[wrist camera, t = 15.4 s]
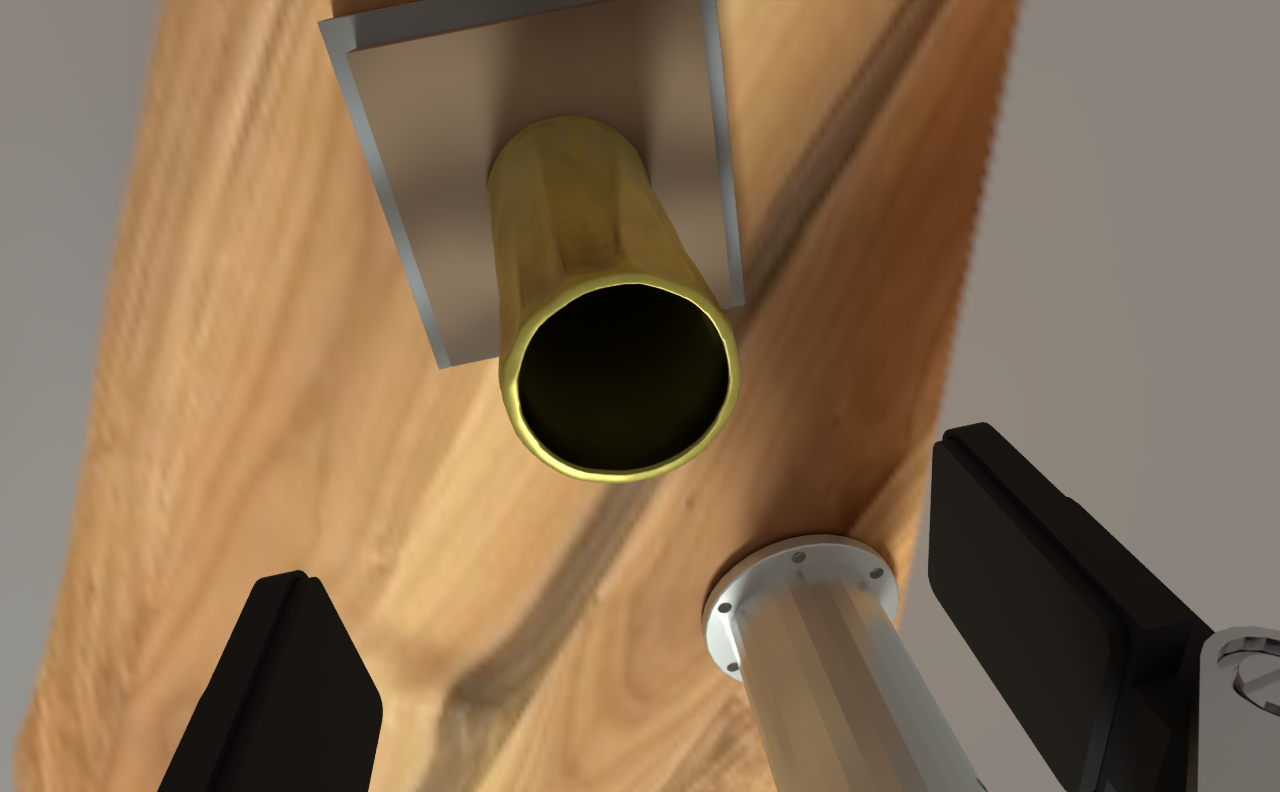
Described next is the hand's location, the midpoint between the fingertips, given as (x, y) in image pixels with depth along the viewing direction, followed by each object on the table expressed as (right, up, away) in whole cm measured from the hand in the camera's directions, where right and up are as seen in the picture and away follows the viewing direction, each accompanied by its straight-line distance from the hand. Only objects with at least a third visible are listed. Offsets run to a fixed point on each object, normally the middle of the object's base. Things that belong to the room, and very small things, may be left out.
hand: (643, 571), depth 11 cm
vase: (-3, +10, +17) cm, 20 cm away
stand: (-4, +12, +20) cm, 24 cm away
